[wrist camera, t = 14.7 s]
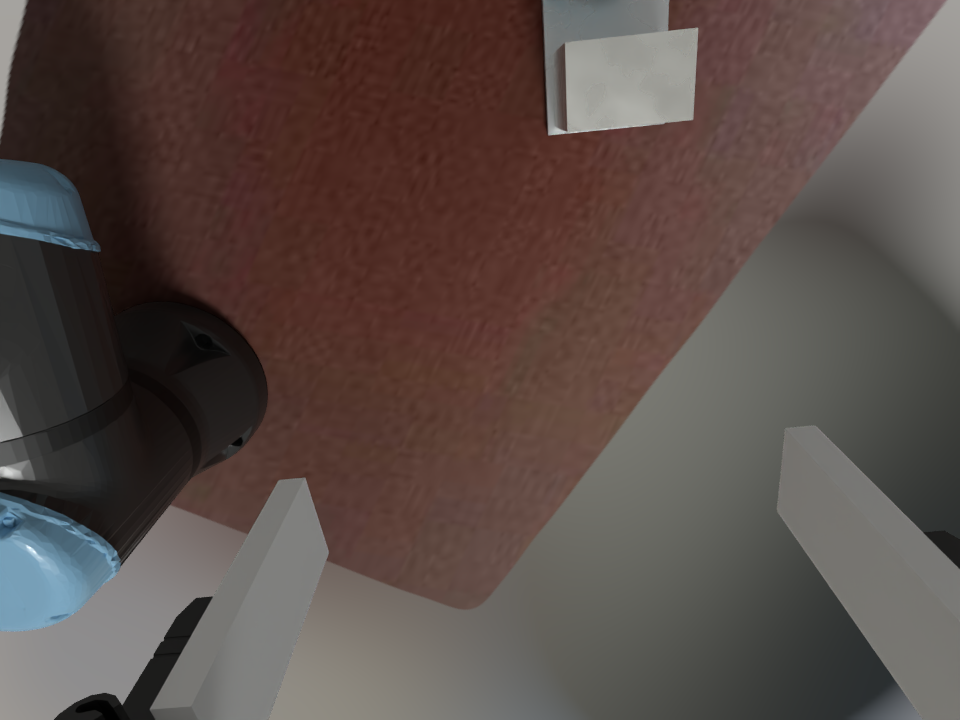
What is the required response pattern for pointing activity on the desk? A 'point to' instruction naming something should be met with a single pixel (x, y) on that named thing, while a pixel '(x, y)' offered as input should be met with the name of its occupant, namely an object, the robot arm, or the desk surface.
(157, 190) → the desk surface
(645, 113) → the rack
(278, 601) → the robot arm
